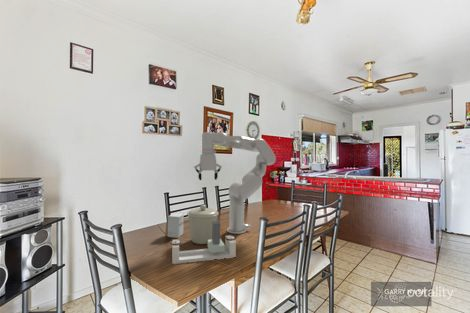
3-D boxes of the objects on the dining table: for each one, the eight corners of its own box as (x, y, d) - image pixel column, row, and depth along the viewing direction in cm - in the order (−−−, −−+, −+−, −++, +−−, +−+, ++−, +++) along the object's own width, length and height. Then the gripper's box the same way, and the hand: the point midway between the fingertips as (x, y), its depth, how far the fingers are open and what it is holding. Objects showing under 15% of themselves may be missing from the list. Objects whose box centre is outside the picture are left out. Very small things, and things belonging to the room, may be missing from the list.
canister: (224, 241, 134) (225, 205, 134) (199, 250, 121) (199, 210, 121) (205, 233, 147) (205, 200, 147) (180, 240, 134) (181, 204, 134)
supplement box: (178, 238, 138) (178, 217, 138) (167, 237, 140) (167, 216, 140) (183, 234, 145) (183, 213, 145) (172, 233, 147) (173, 213, 147)
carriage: (220, 244, 121) (221, 219, 121) (224, 251, 112) (225, 224, 112) (207, 245, 119) (207, 220, 119) (210, 252, 110) (210, 225, 110)
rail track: (232, 249, 123) (232, 233, 123) (237, 257, 113) (237, 240, 113) (170, 255, 115) (170, 238, 115) (170, 264, 105) (170, 246, 105)
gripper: (219, 152, 150) (219, 178, 150) (193, 152, 145) (193, 179, 145) (223, 152, 143) (223, 179, 143) (195, 152, 137) (195, 180, 138)
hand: (208, 179), depth 144 cm, fingers open, 9 cm apart
